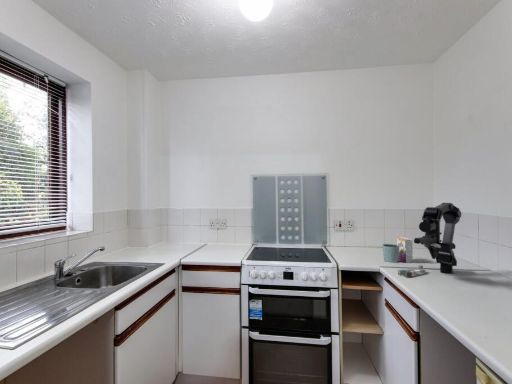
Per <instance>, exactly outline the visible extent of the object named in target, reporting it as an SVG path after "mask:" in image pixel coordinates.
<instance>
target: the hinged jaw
mask: <svg viewBox="0 0 512 384" xmlns="http://www.w3.org/2000/svg"><path fill="white" fill-rule="evenodd" d="M414 270H419V267H417V268H408V269H404V268H403V269H397V275H398V276H404V272H407V271H414Z"/></svg>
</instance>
